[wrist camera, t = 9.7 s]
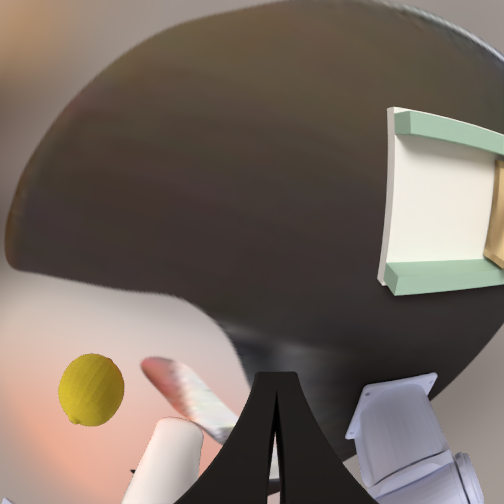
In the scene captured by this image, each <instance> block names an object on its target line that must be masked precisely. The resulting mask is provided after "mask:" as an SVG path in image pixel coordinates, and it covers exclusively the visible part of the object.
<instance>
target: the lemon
mask: <svg viewBox="0 0 504 504" xmlns="http://www.w3.org/2000/svg"><path fill="white" fill-rule="evenodd" d="M58 395H59V400H60V403H61V406H62V408H63V410H64V412H65V413H66V414H67V415H68V417H69V420H70V421H71V422H72V423H73V424H81V425H84V426H99V425H101V424H104V423H105V422H107V421H108V420H109V419H110V418H111V417H112V416H113V415H114V414H115V412H116V411H117V410H118V408H119V406H120V404H121V402H122V399H123V396H124V380H123V377H122V374H121V372H120V370H119V369H118V367H117V366H116V365H115V364H114V363H113V361H112V360H111V359H110V358H106V357H104V356H101V355H99V354H85V355H83V356H80V357H78V358H77V359H75V360H74V361H72V362H71V363H70V364H69V366H68V367H67V369H66V370H65V372H64V374H63V376H62V378H61V381H60V384H59V389H58Z"/></svg>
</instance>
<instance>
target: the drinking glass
mask: <svg viewBox="0 0 504 504" xmlns="http://www.w3.org/2000/svg"><path fill="white" fill-rule="evenodd" d="M203 438H204V436H203V432H202V430H201V429H200V428H199V427H198V426H197V425H195V424H194V423H192V422H190V421H187V420H185V419H181V418H176V417H165V418H162V419H160V420H159V421H158V422H157V424H156V426H155V429H154V432H153V435H152V437H151V439H150V441H149V443H148V446H147V448H146V450H145V452H144V454H143V456H142V458H141V460H140V462H139V464H138V467H137V469H136V471H135V473H134V475H133V477H132V479H131V482H130V483H129V486H128V488H127V490H126V492H125V495H124V497H123V499H122V502H121V504H174V503H175V502H176V501H177V500H178V499H179V498H180V497H181V496H182V495H183V494H184V493H185V492H186V491H187V490H188V489H189V488H190V487H191V486H192V485H193V484H194V483H195V482H196V481H197V479H198V474H199V465H200V455H201V448H202V443H203Z"/></svg>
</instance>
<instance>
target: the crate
mask: <svg viewBox="0 0 504 504" xmlns="http://www.w3.org/2000/svg"><path fill="white" fill-rule="evenodd" d="M483 255H485V256H486V257H488V258H489V259H490V260H492V261H493V262H495V263H496V264H497V265H499V266H500V267H502V268H503V269H504V161H500V160H495V176H494V189H493V199H492V207H491V215H490V221H489V227H488V233H487V239H486V244H485V248H484V253H483Z"/></svg>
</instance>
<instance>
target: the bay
mask: <svg viewBox="0 0 504 504" xmlns="http://www.w3.org/2000/svg"><path fill="white" fill-rule="evenodd" d="M387 119H388V176H387V196H386V210H385V222H384V232H383V241H382V250H381V257H380V264H379V271H378V278H377V279H378V280H379V282H380V283H381V284H382V285H387V286H388V287H389V288H390V290H391V291H392V293H393V294H394V295H408V294H420V293H431V292H441V291H451V290H460V289H469V288H477V287H485V286H492V285H500V284H504V269H503V268H502V267H500V266H499V265H497V264H496V263H495V262H493V261H492V260H490V259H489V258H488V257H486V256H485V255H483V253H484V248H485V244H486V239H487V233H488V227H489V221H490V215H491V207H492V199H493V189H494V176H495V160H500V161H504V135H502V134H499V133H496V132H494V131H491V130H488V129H485V128H482V127H478V126H475V125H472V124H469V123H465V122H462V121H458V120H454V119H450V118H446V117H442V116H438V115H434V114H429V113H425V112H420V111H415V110H409V109H404V108H398V107H391V108H387Z"/></svg>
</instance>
